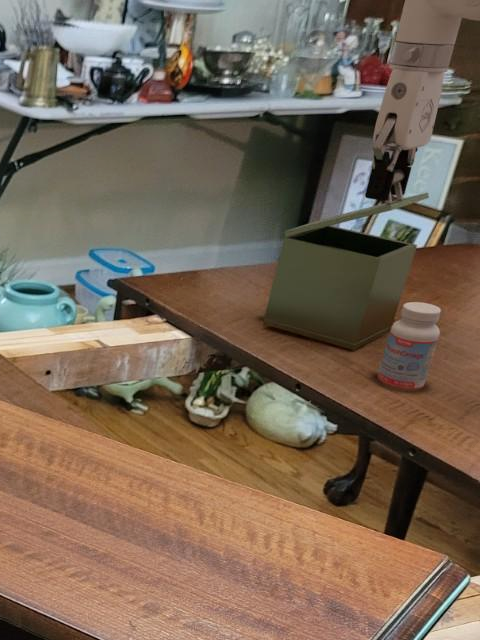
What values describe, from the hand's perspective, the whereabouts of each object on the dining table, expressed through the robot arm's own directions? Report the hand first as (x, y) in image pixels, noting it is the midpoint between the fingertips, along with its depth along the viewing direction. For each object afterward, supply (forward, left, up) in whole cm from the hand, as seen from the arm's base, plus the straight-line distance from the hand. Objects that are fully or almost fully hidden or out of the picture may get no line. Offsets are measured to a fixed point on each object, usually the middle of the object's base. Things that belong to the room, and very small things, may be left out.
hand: (384, 195), depth 159 cm
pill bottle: (-1, +23, -21) cm, 31 cm away
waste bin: (+2, -2, -21) cm, 21 cm away
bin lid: (+2, -2, -4) cm, 5 cm away
